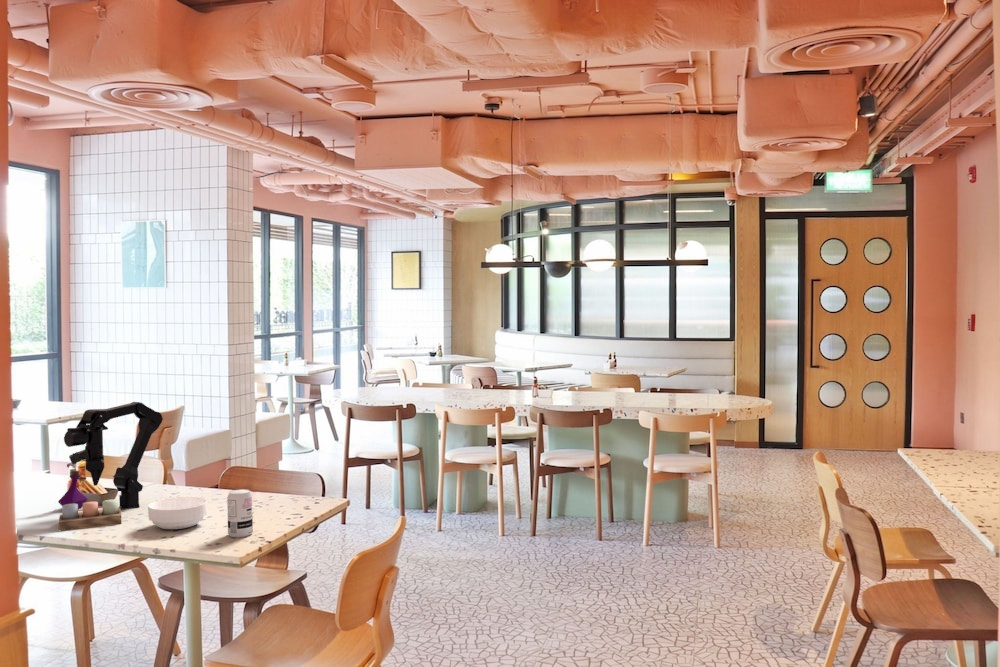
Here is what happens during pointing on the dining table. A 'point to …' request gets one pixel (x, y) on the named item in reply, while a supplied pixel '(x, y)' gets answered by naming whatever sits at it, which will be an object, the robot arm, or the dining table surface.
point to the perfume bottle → (73, 491)
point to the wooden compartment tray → (89, 521)
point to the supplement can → (240, 513)
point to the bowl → (177, 512)
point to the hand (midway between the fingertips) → (95, 483)
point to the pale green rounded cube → (110, 507)
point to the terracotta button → (90, 509)
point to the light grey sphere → (70, 511)
